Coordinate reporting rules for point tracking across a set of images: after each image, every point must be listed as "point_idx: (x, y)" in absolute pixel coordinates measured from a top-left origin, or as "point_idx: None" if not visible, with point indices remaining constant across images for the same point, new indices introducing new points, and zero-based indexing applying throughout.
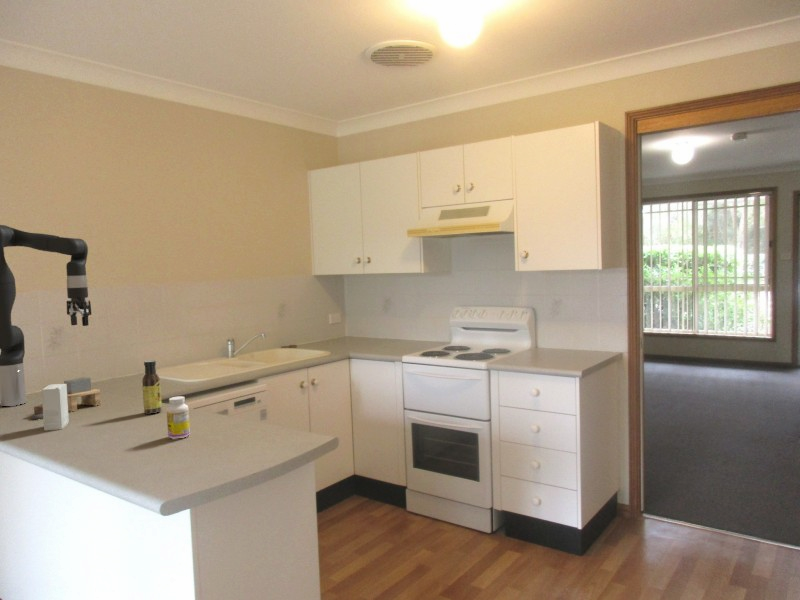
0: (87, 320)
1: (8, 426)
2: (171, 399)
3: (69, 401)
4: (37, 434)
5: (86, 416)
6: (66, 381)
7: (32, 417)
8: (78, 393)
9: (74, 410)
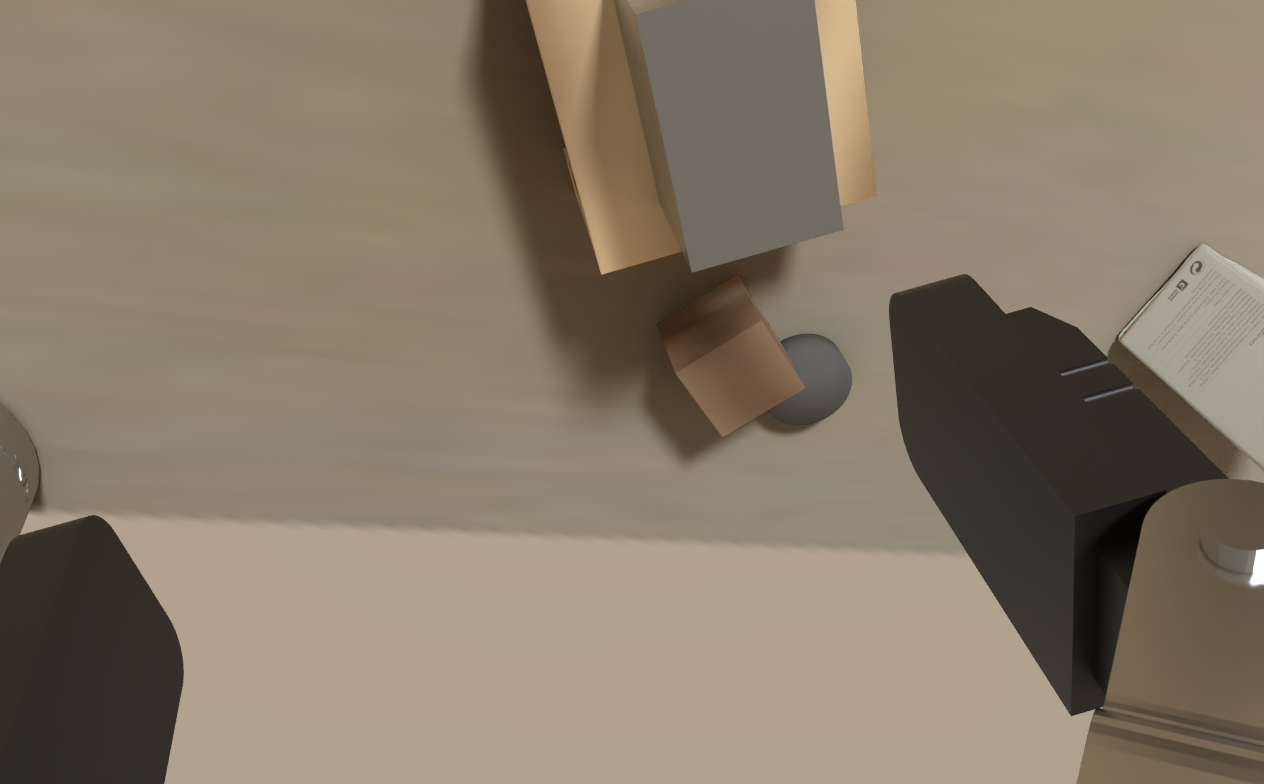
0: (1136, 422)
1: (850, 541)
2: None
3: None
4: None
5: (1120, 77)
6: (743, 255)
7: (799, 419)
8: None
9: None
